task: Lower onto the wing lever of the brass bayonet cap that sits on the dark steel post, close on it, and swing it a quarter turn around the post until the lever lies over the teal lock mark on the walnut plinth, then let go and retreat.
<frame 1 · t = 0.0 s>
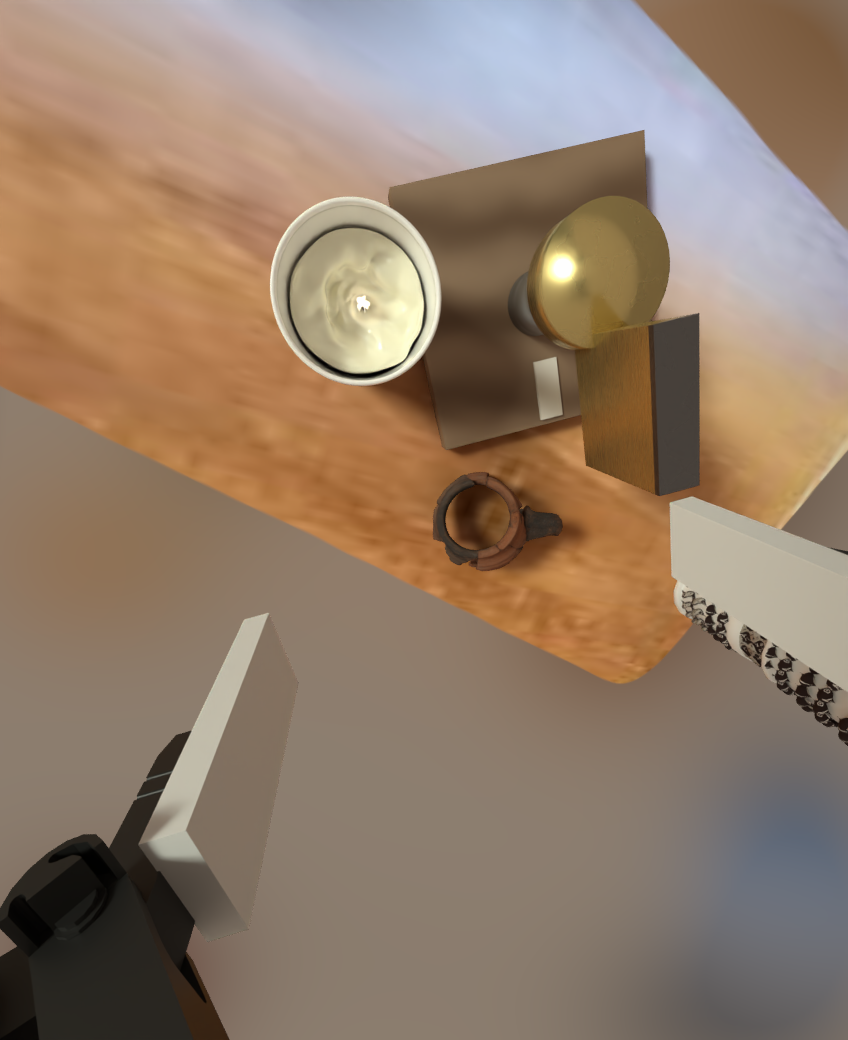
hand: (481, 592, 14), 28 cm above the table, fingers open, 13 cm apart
post plinth: (528, 306, 37), on the table
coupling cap: (627, 345, 25), point 15 cm above the table, hinge at 0.0°
decorative candle: (705, 586, 50), on the table
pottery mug: (486, 515, 44), on the table
candle holder: (359, 322, 36), on the table
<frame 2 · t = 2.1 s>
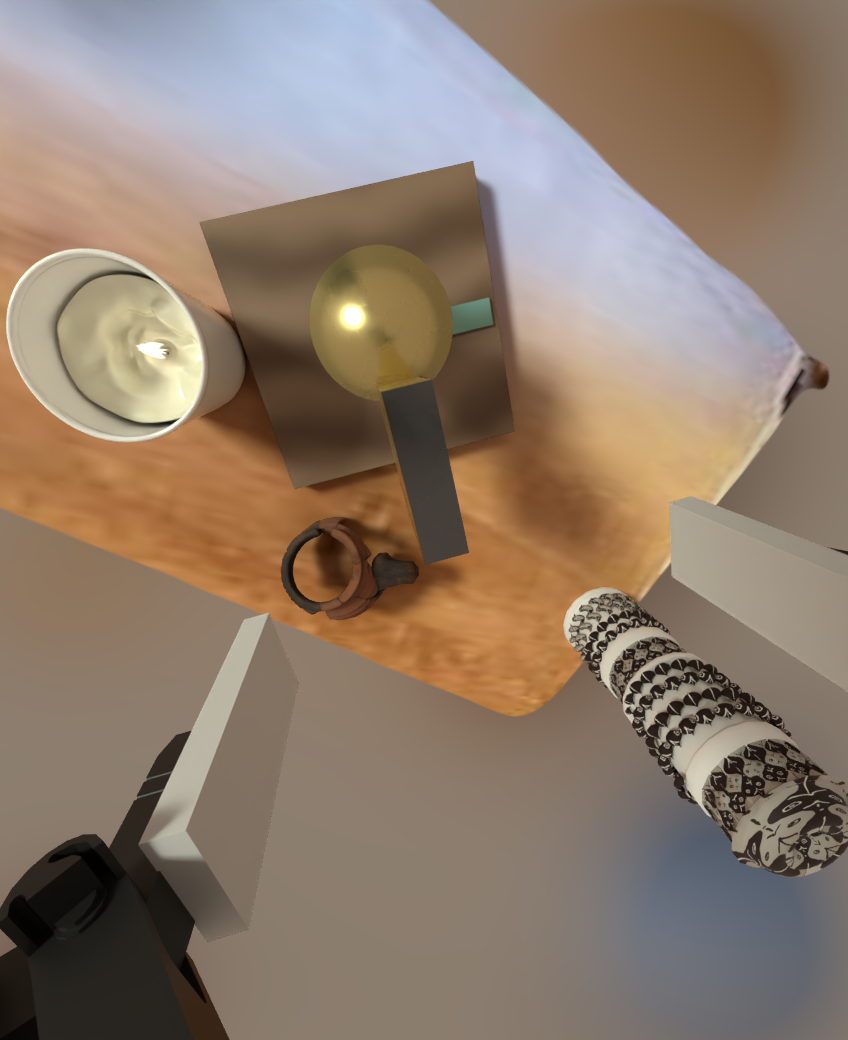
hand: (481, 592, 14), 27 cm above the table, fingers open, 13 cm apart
post plinth: (375, 341, 36), on the table
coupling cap: (403, 401, 24), point 14 cm above the table, hinge at 0.0°
decorative candle: (597, 618, 49), on the table
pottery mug: (353, 558, 42), on the table
candle holder: (193, 358, 35), on the table
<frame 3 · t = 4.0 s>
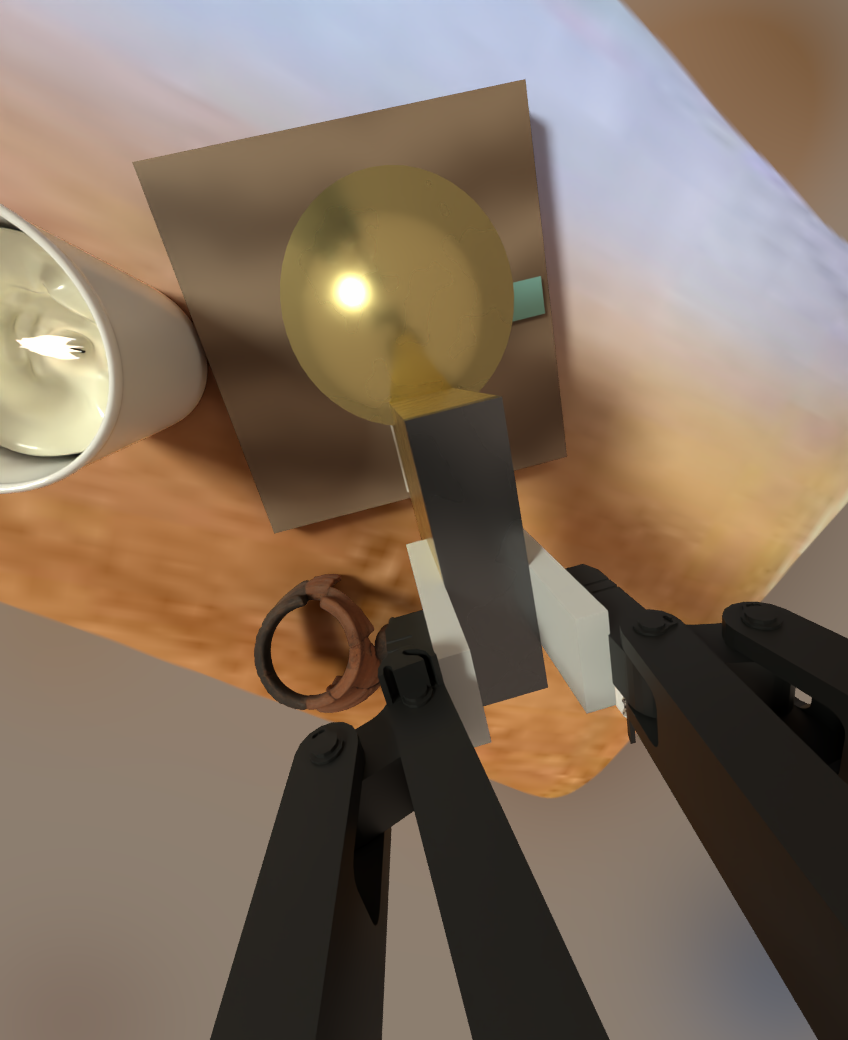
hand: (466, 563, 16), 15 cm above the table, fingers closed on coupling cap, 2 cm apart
post plinth: (383, 336, 27), on the table
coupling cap: (434, 428, 14), point 14 cm above the table, hinge at 0.1°, touching gripper
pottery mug: (350, 622, 33), on the table
candle holder: (135, 358, 25), on the table
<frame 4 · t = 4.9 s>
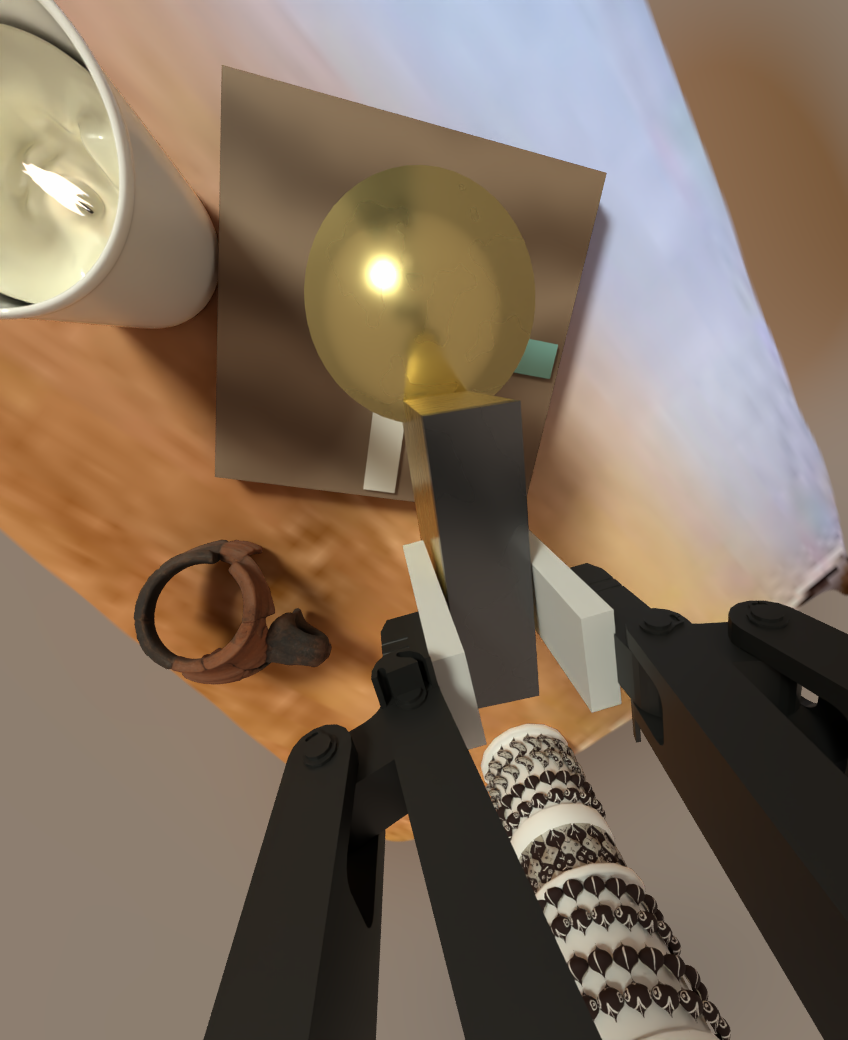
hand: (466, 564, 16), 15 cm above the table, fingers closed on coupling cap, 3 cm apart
post plinth: (398, 335, 27), on the table
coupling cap: (446, 428, 15), point 14 cm above the table, hinge at 17.7°, touching gripper
decorative candle: (524, 757, 40), on the table
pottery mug: (254, 599, 32), on the table
candle holder: (144, 248, 24), on the table
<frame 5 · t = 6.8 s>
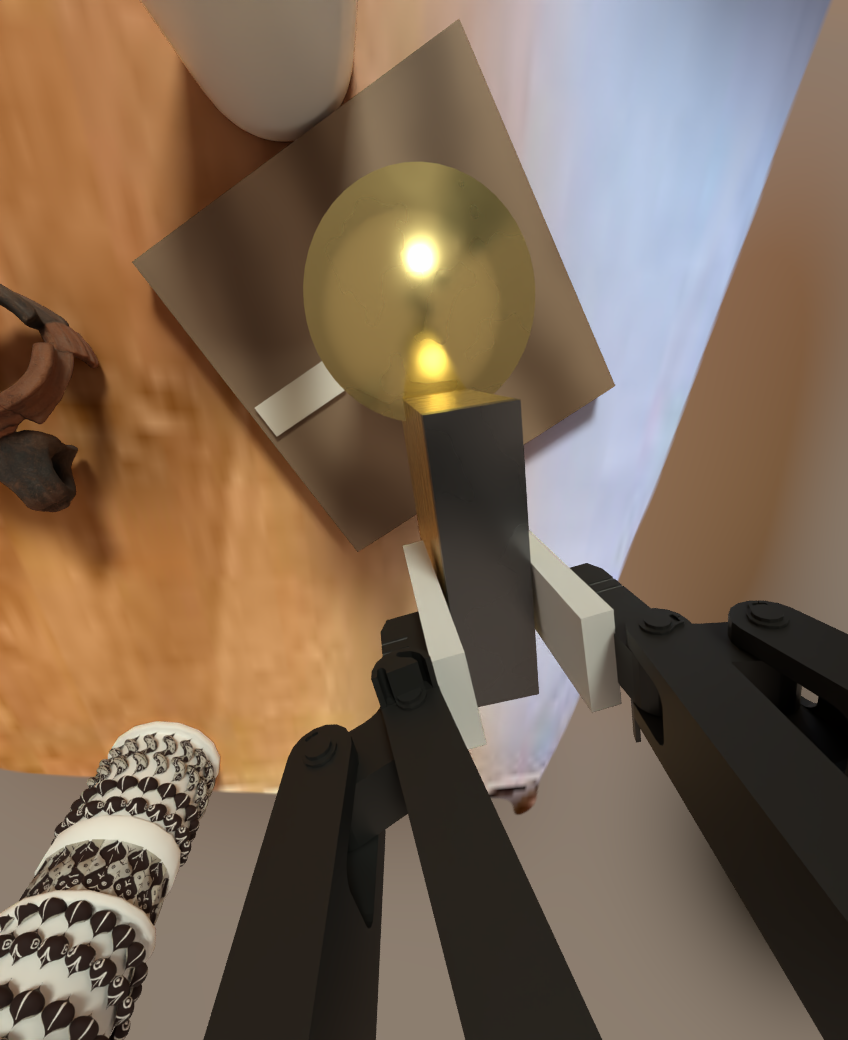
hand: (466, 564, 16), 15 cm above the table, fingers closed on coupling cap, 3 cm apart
post plinth: (397, 333, 27), on the table
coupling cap: (446, 427, 14), point 14 cm above the table, hinge at 66.0°, touching gripper
decorative candle: (167, 760, 35), on the table
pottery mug: (41, 401, 26), on the table
candle holder: (271, 44, 22), on the table
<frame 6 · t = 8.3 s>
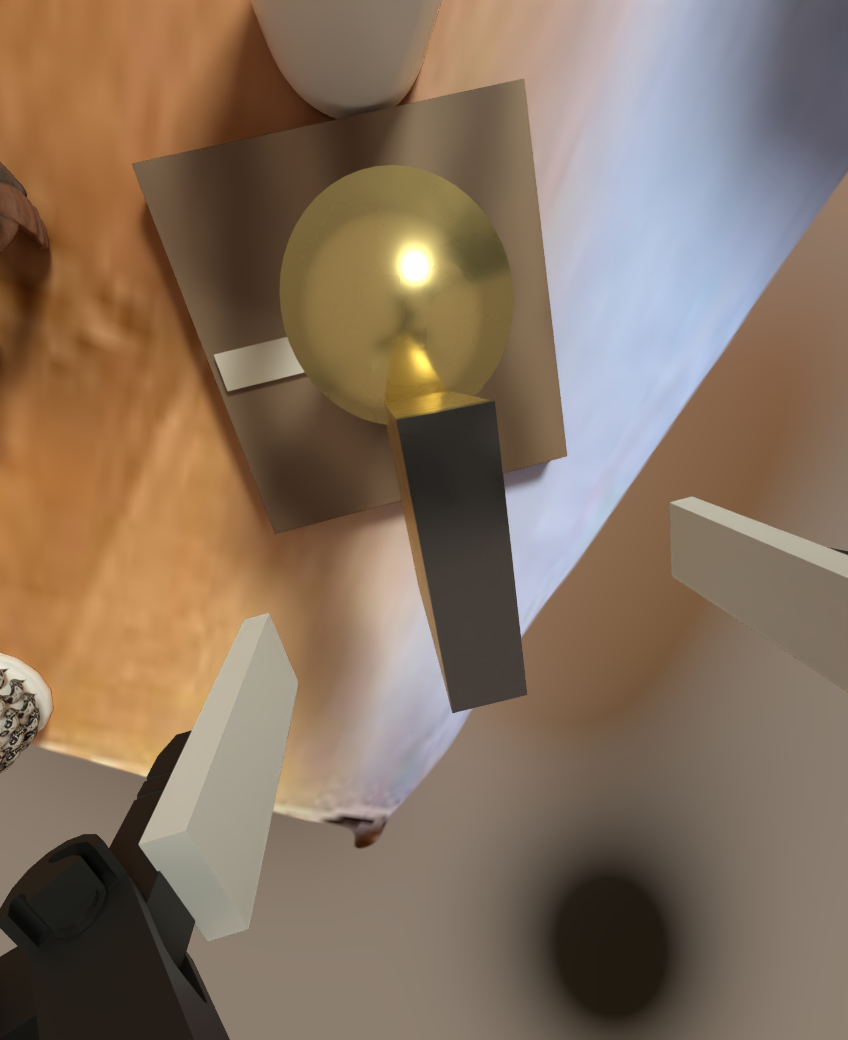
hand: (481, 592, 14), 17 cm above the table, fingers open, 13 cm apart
post plinth: (382, 336, 27), on the table
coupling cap: (427, 429, 14), point 14 cm above the table, hinge at 86.6°
candle holder: (346, 25, 22), on the table
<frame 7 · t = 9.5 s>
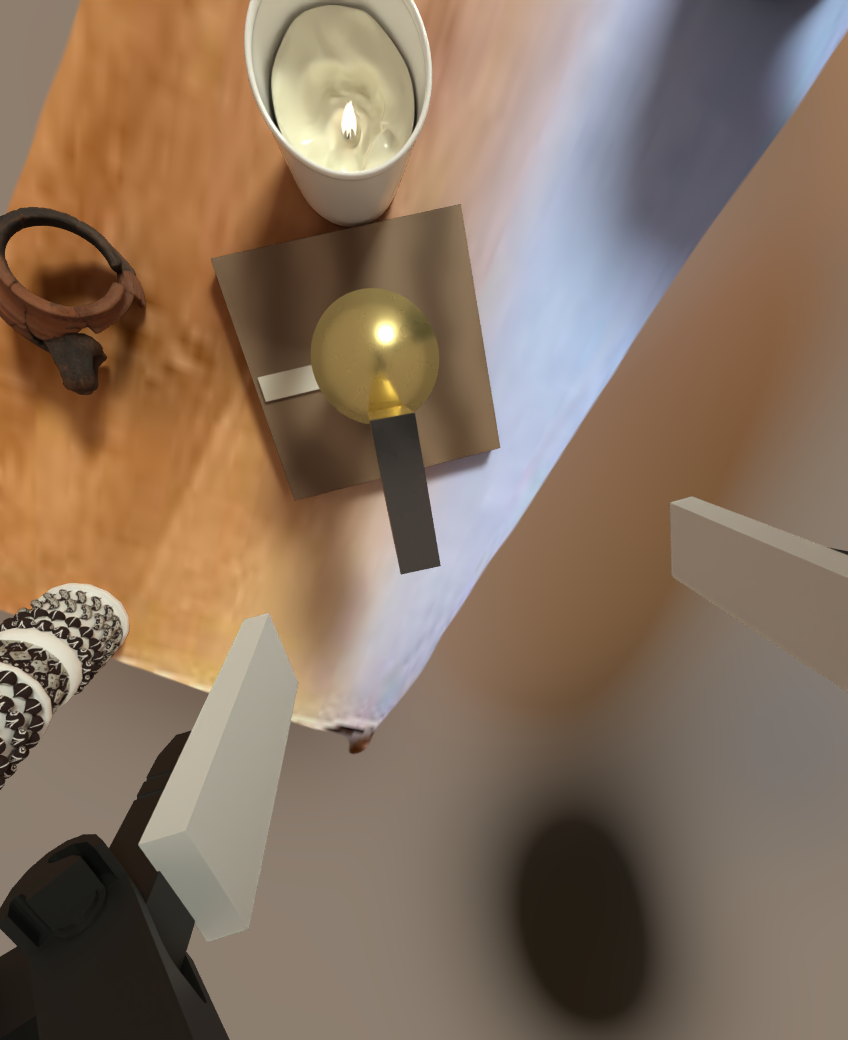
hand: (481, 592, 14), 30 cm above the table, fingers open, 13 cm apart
post plinth: (370, 364, 39), on the table
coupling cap: (390, 426, 27), point 14 cm above the table, hinge at 86.6°
decorative candle: (84, 620, 43), on the table
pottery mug: (91, 315, 35), on the table
candle holder: (346, 168, 34), on the table
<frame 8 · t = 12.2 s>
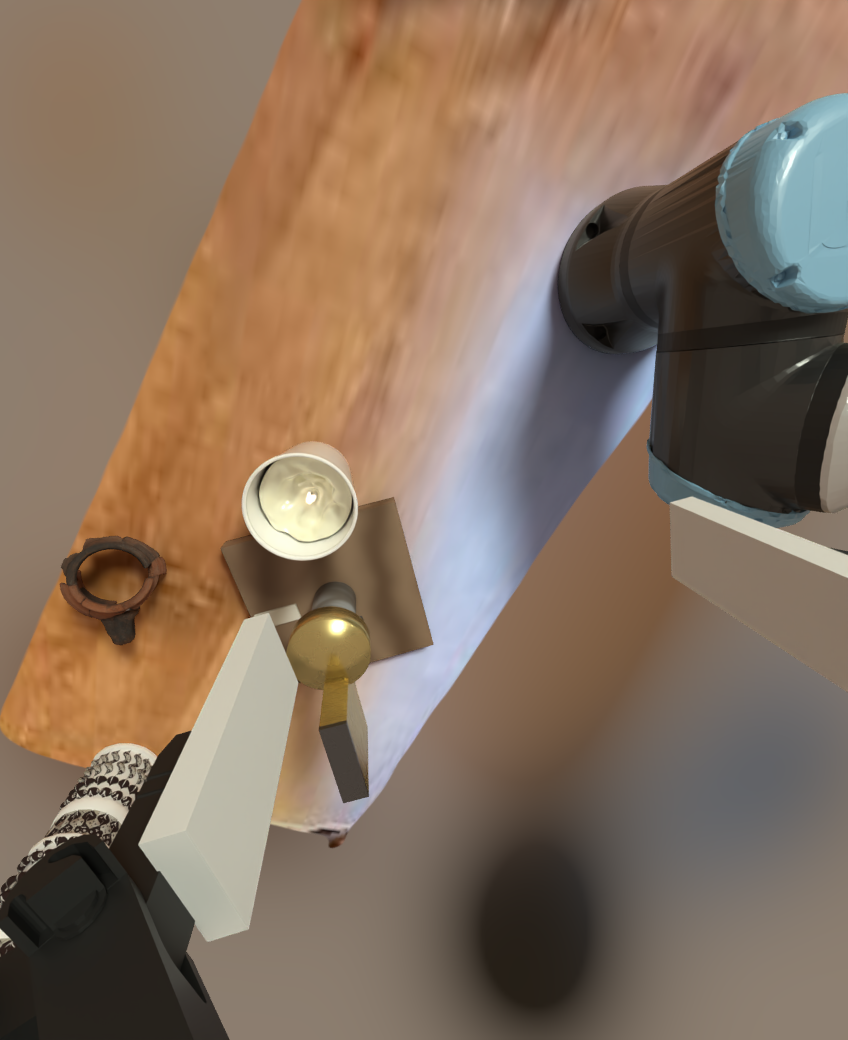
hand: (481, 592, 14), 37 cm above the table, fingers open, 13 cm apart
post plinth: (336, 592, 53), on the table
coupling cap: (337, 700, 41), point 14 cm above the table, hinge at 86.6°
decorative candle: (127, 766, 58), on the table
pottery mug: (128, 576, 49), on the table
candle holder: (315, 477, 49), on the table
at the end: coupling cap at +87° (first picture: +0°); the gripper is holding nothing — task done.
